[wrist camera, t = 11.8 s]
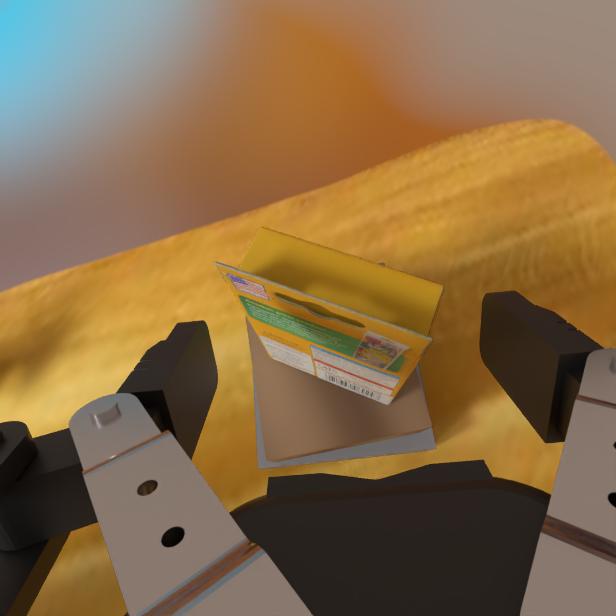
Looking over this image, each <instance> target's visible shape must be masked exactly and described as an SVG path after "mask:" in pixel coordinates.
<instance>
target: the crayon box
mask: <svg viewBox="0 0 616 616" xmlns="http://www.w3.org/2000/svg"><path fill="white" fill-rule="evenodd" d="M214 263H215V265H216V266H217V268H218V270H219V271H220V273H221V274H222V276H223V279H224V280H225V281H226V282H227V284H228V285H229V287H230V289H231V291H232V292H233V294H234V296H235V297H236V299H237V301H238V303H239V304H240V306H241V308H242V309H243V311H244V313H245V315H246V316H247V318H248V320H249V321H250V323H251V325H252V326H253V328H254V330H255V332H256V333H257V335H258V337H259V339H260V341H261V342H262V344H263V346H264V347H265V349H266V351H267V353H268V355H269V356H270V358H272V359H273V360H276V361H279V362H282V363H284V364H287V365H289V366H291V367H294V368H296V369H299V370H301V371H304V372H307V373H309V374H312V375H314V376H317V377H319V378H321V379H323V380H326V381H328V382H331V383H333V384H336V385H338V386H340V387H343V388H345V389H348V390H351V391H353V392H356V393H358V394H361V395H363V396H366V397H368V398H371V399H374V400H376V401H378V402H381V403H383V404H386V405H389V404H390V403H391V402H392V400H393V399H394V397H395V396H396V395H397V393H398V392H399V390H400V389H401V387H402V386H403V385H404V383H405V382H406V380H407V379H408V377H409V376H410V374H411V373H412V371H413V370H414V368H415V367H416V365H417V364H418V362H419V361H420V359H421V358H422V356H423V355H424V353H425V351H426V349H427V348H428V346H429V345H430V344H431V343H432V342H433V338H432V337H430V333H431V330H432V327H433V324H434V321H435V317H436V314H437V311H438V308H439V305H440V302H441V298H442V295H443V293H444V286H443V285H441V284H438V283H435V282H431V281H428V280H426V279H422V278H419V277H416V276H413V275H411V274H407V273H404V272H402V271H398V270H395V269H392V268H389V267H386V266H383V265H380V264H377V263H374V262H371V261H367V260H364V259H361V258H358V257H356V256H353V255H349V254H346V253H343V252H340V251H337V250H334V249H331V248H328V247H325V246H321V245H319V244H315V243H312V242H309V241H305V240H303V239H300V238H296V237H294V236H290V235H287V234H284V233H281V232H277V231H274V230H271V229H268V228H264V227H261V228H259V230H258V232H257V234H256V236H255V238H254V240H253V242H252V243H251V245H250V247H249V249H248V251H247V253H246V255H245V256H244V259H243V260H242V262H241V264H240V266H239V268H238V269H237V268H234V267H231V266H228V265H225V264H222V263H219V262H214Z"/></svg>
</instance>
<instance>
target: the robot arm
mask: <svg viewBox="0 0 616 616" xmlns="http://www.w3.org/2000/svg"><path fill="white" fill-rule="evenodd" d="M480 353H481V357H482V360H483V362H484V364H485V366H486V367H487V368H488V369H489V371H490V372H491V373H492V375H493V376H494V377H495V379H496V380H497V381H498V382H499V384H500V385H501V386H502V388H503V389H504V390H505V391H506V393H507V394H508V395H509V397H510V398H511V399H512V401H513V402H514V403H515V404H516V406H517V407H518V408H519V410H520V411H521V412H522V414H523V415H524V416H525V417H526V419H527V420H528V421H529V423H530V424H531V425H532V427H533V428H534V429H535V430H536V432H537V433H538V434H539V436H540V437H541V438H542V440H543V441H544V442H545V443H556V442H565V443H564V447H563V451H562V455H561V459H560V463H559V467H558V471H557V475H556V479H555V483H554V487H553V491H552V495H550V494H548V493H546V492H544V491H542V490H539V489H537V488H534V487H532V486H529V485H526V484H523V483H519V482H516V481H512V480H508V479H503V478H497V477H492V475H491V473H490V471H489V469H488V467H487V465H486V464H485V462H484V460H475V461H462V462H450V463H438V464H429V465H426V466H422V467H419V468H416V469H412V470H409V471H406V472H402V473H399V474H396V475H393V476H389V477H386V478H383V479H377V480H373V479H364V478H356V477H348V476H340V475H331V474H323V473H316V474H304V475H292V476H280V477H269V478H268V487H267V495H264V496H261V497H258V498H256V499H254V500H251V501H249V502H247V503H245V504H243V505H241V506H239V507H237V508H236V509H234V510H233V511H231V512H230V513H228V511H227V510H226V508H225V507H224V506H223V504H222V503H221V501H220V500H219V499H218V497H217V496H216V495H215V493H214V492H213V490H212V489H211V488H210V486H209V485H208V483H207V482H206V481H205V479H204V478H203V476H202V475H201V474H200V472H199V471H198V470H197V468H196V467H195V465H194V464H193V463H192V461H191V459H192V456H193V454H194V451H195V448H196V445H197V442H198V439H199V437H200V434H201V431H202V428H203V425H204V422H205V420H206V417H207V414H208V411H209V408H210V405H211V403H212V400H213V397H214V394H215V391H216V388H217V383H218V373H217V366H216V362H215V357H214V353H213V348H212V344H211V339H210V335H209V330H208V327H207V324H206V322H205V321H203V320H202V321H192V322H182V323H177V324H176V326H175V327H174V329H173V330H172V332H171V333H170V335H169V336H168V338H167V339H166V340H164V341H160V342H158V343H157V344H156V345H154V346H153V347H151V348H150V349H149V350H147V352H146V353H145V354H144V356H143V357H142V358H141V360H140V362H139V363H138V364H137V365H136V367H135V368H134V371H132V372H131V373H130V375H129V376H128V377H127V379H126V380H125V382H124V383H123V384H122V386H121V387H120V388H119V390H118V391H117V392H116V394H111V395H107V396H103V397H101V398H98V399H96V400H94V401H91V402H90V403H88V404H86V405H85V406H83V407H82V408H80V409H79V410H78V411H77V412H76V413H75V414H74V415H73V416H72V418H71V419H70V422H69V428H67V429H64V430H61V431H57V432H53V433H50V434H46V435H43V436H39V437H36V438H32V436H31V434H30V431H29V429H28V427H27V425H26V424H25V423H23V422H19V421H9V422H3V423H0V616H27V614H28V612H29V610H30V608H31V606H32V604H33V602H34V601H35V599H36V597H37V595H38V593H39V591H40V589H41V587H42V585H43V584H44V582H45V580H46V578H47V576H48V574H49V572H50V570H51V568H52V566H53V565H54V563H55V561H56V559H57V557H58V555H59V553H60V551H61V549H62V548H63V546H64V544H65V542H66V540H67V538H68V536H69V534H70V532H71V531H73V530H76V529H79V528H82V527H85V526H88V525H91V524H94V523H97V522H99V525H100V528H101V531H102V535H103V538H104V541H105V544H106V547H107V550H108V553H109V556H110V559H111V562H112V565H113V568H114V571H115V574H116V577H117V580H118V583H119V586H120V589H121V592H122V595H123V598H124V601H125V604H126V607H127V610H128V612H127V613H126V614H125V615H124V616H616V349H612V348H609V349H605V348H603V347H602V346H600V345H599V344H598V343H596V342H595V341H594V340H592V339H591V338H589V337H588V336H587V335H585V334H584V333H582V332H581V331H580V330H577V328H576V327H574V326H573V325H571V324H570V323H567V321H566V320H564V319H563V318H562V317H560V316H559V315H558V314H556V313H555V312H553V311H550V310H547V309H545V308H542V307H539V306H537V305H534V304H532V303H531V302H530V301H528V300H527V299H526V298H524V297H523V296H522V295H520V294H519V293H518V292H516V291H505V292H494V293H487V294H485V296H484V298H483V302H482V315H481V329H480Z"/></svg>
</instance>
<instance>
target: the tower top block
mask: <svg viewBox="0 0 616 616" xmlns="http://www.w3.org/2000/svg"><path fill="white" fill-rule="evenodd" d="M380 265H383V266H385V264H384V263H380ZM245 316H246V315H245ZM246 323H247V330H248V337H249V344H250V351H251V358H252V365H253V372H254V379H255V386H256V393H257V400H258V407H259V414H260V421H261V428H262V435H263V442H264V449H265V456H266V461H271V462H280V461H285V460H290V459H295V458H299V457H304V456H309V455H314V454H319V453H324V452H328V451H333V450H338V449H343V448H348V447H353V446H357V445H362V444H367V443H372V442H377V441H382V440H386V439H391V438H396V437H401V436H406V435H411V434H416V433H420V432H422V431H424V430H426V429H429V428H431V427H433V426H432V422H431V419H430V416H429V412H428V409H427V405H426V402H425V399H424V395H423V392H422V389H421V385H420V382H419V378H418V375H417V372H416V368H414V370H413V371H412V373H411V374H410V376H409V377H408V379H407V380H406V382H405V383H404V385H403V386H402V387H401V389H400V390H399V392H398V393H397V395H396V396H395V397H394V399H393V400H392V402H391V403H390V404H389V405H386V404H383V403H381V402H378V401H376V400H374V399H371V398H368V397H366V396H363V395H361V394H358V393H356V392H353V391H351V390H348V389H345V388H343V387H340V386H338V385H336V384H333V383H331V382H328V381H326V380H323V379H321V378H319V377H317V376H314V375H312V374H309V373H307V372H304V371H301V370H299V369H296V368H294V367H291V366H289V365H287V364H284V363H282V362H279V361H276V360H273V359H272V358H270V356H269V355H268V353H267V351H266V349H265V347H264V346H263V344H262V342H261V341H260V339H259V337H258V335H257V333H256V332H255V330H254V328H253V326H252V325H251V323H250V321H249V320H248V318H247V316H246Z"/></svg>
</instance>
